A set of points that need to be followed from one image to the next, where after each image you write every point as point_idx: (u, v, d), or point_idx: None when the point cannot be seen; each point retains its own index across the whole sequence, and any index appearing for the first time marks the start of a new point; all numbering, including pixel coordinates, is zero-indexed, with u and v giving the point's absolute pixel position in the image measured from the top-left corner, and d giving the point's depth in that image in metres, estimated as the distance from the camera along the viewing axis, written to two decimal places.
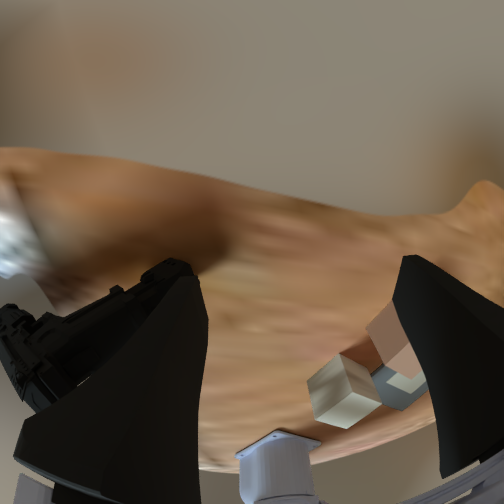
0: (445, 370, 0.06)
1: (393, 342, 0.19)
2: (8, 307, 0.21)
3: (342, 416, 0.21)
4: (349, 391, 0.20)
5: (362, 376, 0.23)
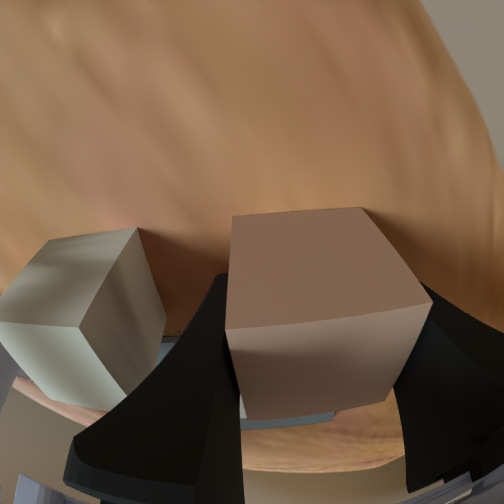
0: (410, 381, 0.06)
1: (295, 285, 0.06)
2: None
3: (42, 368, 0.07)
4: (74, 319, 0.06)
5: (144, 321, 0.09)
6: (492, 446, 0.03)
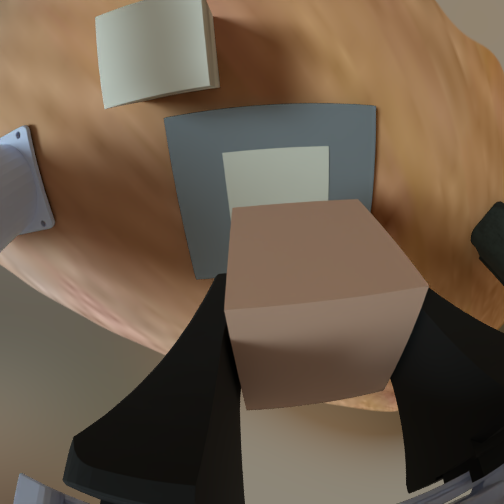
0: (410, 381, 0.06)
1: (293, 269, 0.06)
2: None
3: (129, 48, 0.08)
4: None
5: (213, 54, 0.11)
6: (492, 446, 0.03)
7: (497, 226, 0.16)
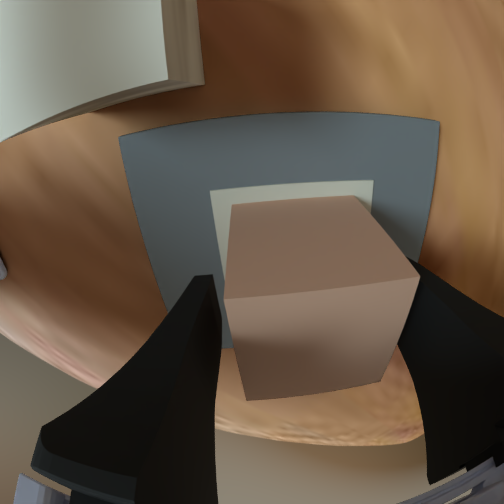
0: (432, 374, 0.06)
1: (289, 261, 0.07)
2: None
3: (29, 28, 0.03)
4: None
5: (189, 26, 0.06)
6: None
7: None
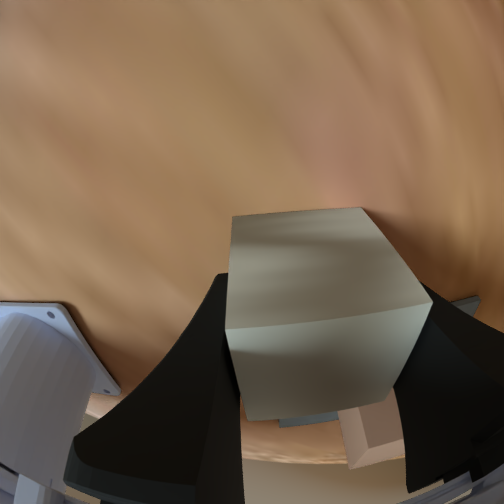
0: (410, 381, 0.06)
1: (392, 420, 0.10)
2: None
3: (297, 380, 0.06)
4: (419, 295, 0.05)
5: None
6: (492, 446, 0.03)
7: None
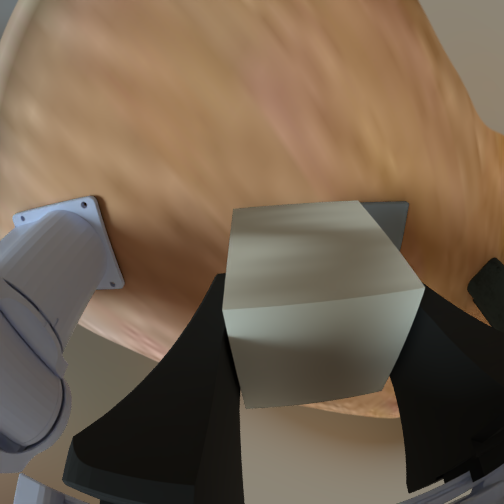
0: (410, 381, 0.06)
1: None
2: None
3: (293, 365, 0.07)
4: (412, 281, 0.06)
5: None
6: (492, 446, 0.03)
7: (489, 281, 0.21)
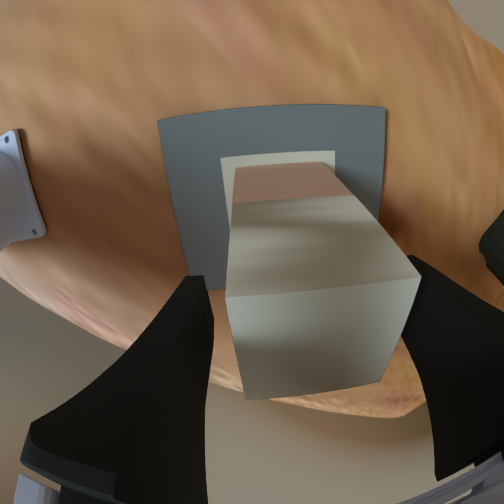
0: (440, 372, 0.06)
1: (271, 189, 0.11)
2: None
3: (293, 354, 0.07)
4: (408, 271, 0.06)
5: None
6: None
7: None
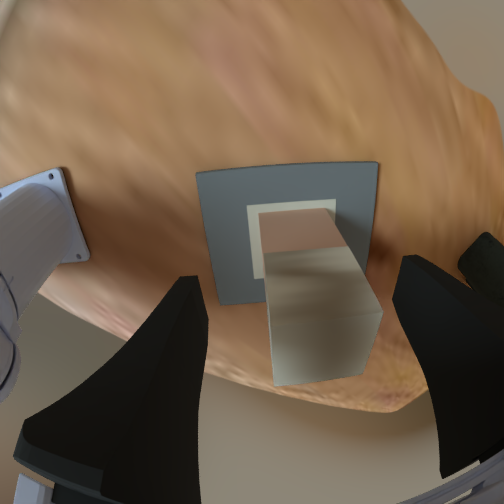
0: (445, 370, 0.06)
1: (289, 240, 0.15)
2: None
3: (306, 355, 0.11)
4: (376, 308, 0.10)
5: None
6: None
7: (481, 256, 0.20)
